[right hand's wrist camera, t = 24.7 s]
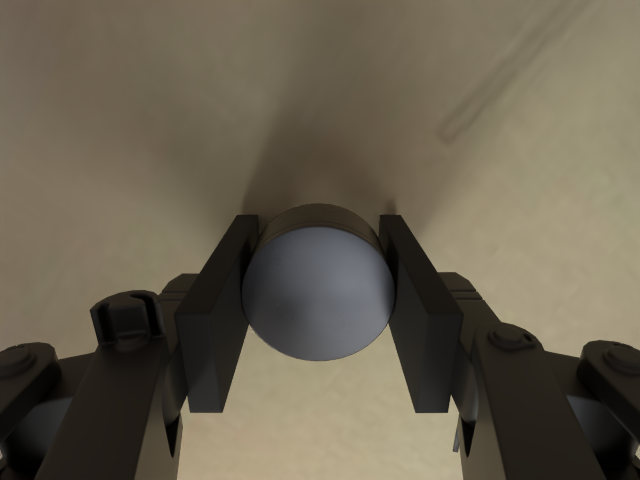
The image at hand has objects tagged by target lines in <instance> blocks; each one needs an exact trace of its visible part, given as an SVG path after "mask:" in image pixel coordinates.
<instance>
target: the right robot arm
mask: <svg viewBox="0 0 640 480" xmlns="http://www.w3.org/2000/svg"><path fill="white" fill-rule="evenodd" d="M258 238H259V226H258V215H237V216H236V218H235V219H234V221H233V222H232V224H231V225H230V227H229V229H228V230H227V232H226V233H225V235H224V236H223V238H222V239H221V241H220V242H219V244H218V246H217V247H216V249H215V250H214V252H213V253H212V255H211V256H210V258H209V259H208V261H207V263H206V264H205V266H204V267H203V269H202V270H201V272H200V273H199V274H181V275H179V276H178V277H176V278H174V279H173V280H171V281H170V282H169V283H168V284H167V285H166V287H165V288H164V289H163V290H162V293H160V294H159V296H158V295H157V294H156V293H154V292H151V291H146V290H132V291H127V292H121V293H118V294H115V295H112V296H109V297H106V298H105V299H103V300H101V301H100V302H98V303H96V304H95V305H94V306H93V307H92V308H91V309H90V313H91V317H92V321H93V325H94V328H95V332H96V336H97V340H98V344H99V345H98V347H97V349H96V351H95V352H93V353H89V354H85V355H80V356H75V357H70V358H64V359H59V360H58V358H57V355H56V352H55V349H54V347H52V346H51V345H50V344H47V343H40V342H35V343H25V344H20V345H17V346H12V347H9V348H7V349H5V350H3V351H1V352H0V451H1V453H2V455H3V457H2V458H1V459H0V480H177V473H178V464H179V456H180V447H181V438H182V430H183V425H182V418H181V413H180V410H181V408H182V406H183V403H184V401H185V399H186V396H187V397H188V402H189V408H190V413H222V412H223V409H224V406H225V402H226V399H227V396H228V392H229V389H230V386H231V382H232V379H233V376H234V372H235V369H236V366H237V362H238V359H239V356H240V352H241V349H242V346H243V342H244V339H245V336H246V332H247V329H248V326H249V323H248V321H247V319H246V316H245V314H244V311H243V307H242V302H241V284H242V279H243V275H244V272H245V270H246V267H247V265H248V262H249V260H250V257H251V255H252V252H253V250H254V247H255V245H256V242H257V240H258ZM378 238H379V240H380V243H381V245H382V248H383V250H384V253H385V255H386V258H387V260H388V263H389V266H390V268H391V271H392V273H393V276H394V281H395V287H396V300H395V305H394V310H393V313H392V315H391V318H390V320H389V322H388V323H389V326H390V330H391V333H392V336H393V340H394V343H395V346H396V350H397V353H398V356H399V360H400V363H401V366H402V369H403V373H404V376H405V379H406V383H407V386H408V389H409V393H410V396H411V399H412V403H413V406H414V409H415V413H448V408H449V402H450V396H451V395H452V397H453V399H454V402H455V404H456V406H457V409H458V411H459V418H458V424H457V429H456V435H455V440H454V446H453V452H458V449H459V446H460V455H461V463H462V472H463V480H640V460H639V458H638V457H637V456H636V455H635V453H636V451H637V449H638V446H639V444H640V351H639V350H637V349H635V348H633V347H632V346H629V345H626V344H623V343H622V344H621V343H619V342H614V341H603V340H597V341H591V342H588V343H587V344H586V345H584V346H583V350H582V353H581V356H580V358H578V357H573V356H568V355H563V354H557V353H552V352H548V351H545V350H544V348H543V346H542V344H541V343H540V342H539V340H538V339H537V338H536V337H535V336H534V335H533V334H531V333H530V332H528V331H527V330H525V329H523V328H520V327H518V326H515V325H512V324H508V323H503V322H501V321H500V320H499V319H498V317H497V316H496V315H495V314H494V312H493V311H492V310H491V308H490V307H489V306H488V305H487V303H486V302H485V301H484V300H482V297H481V296H480V294H479V293H478V292H476V289H475V288H474V287H473V285H472V284H471V283H470V282H469V280H467V279H465V278H464V277H462V276H461V275H459V274H457V273H456V272H437V271H436V269H435V268H434V266H433V265H432V263H431V262H430V260H429V259H428V257H427V255H426V254H425V252H424V251H423V249H422V248H421V246H420V245H419V243H418V242H417V240H416V238H415V237H414V235H413V234H412V232H411V231H410V229H409V228H408V226H407V225H406V223H405V221H404V220H403V218H402V217H401V215H380V220H379V236H378Z"/></svg>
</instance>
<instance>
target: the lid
mask: <svg viewBox="0 0 640 480" xmlns="http://www.w3.org/2000/svg"><path fill="white" fill-rule="evenodd" d="M395 300H396V287H395V281H394V276H393V273H392V271H391V268H390V266H389V263H388V260H387V258H386V255H385V253H384V250H383V248H382V245H381V243H380V240H379V238H378V237H377V235H376V233H375V232H374V230H373V229H372V228H371V227H370V225H369V224H368V223H367V222H366V221H365V220H363V219H362V218H361V217H359V216H358V215H357V214H355V213H353V212H351V211H349V210H347V209H344V208H342V207H339V206H335V205H330V204H307V205H302V206H298V207H295V208H292V209H290V210H288V211H285V212H284V213H282V214H280V215H279V216H277V217H276V218H275V219H274V220H272V221H271V222H270V223H269V224H268V225H267V226H266V227H265V229H264V230H263V231H262V233H261V234H260V236H259V238H258V240H257V242H256V245H255V247H254V250H253V252H252V255H251V257H250V260H249V262H248V265H247V267H246V270H245V272H244V275H243V279H242V284H241V302H242V307H243V311H244V314H245V316H246V319H247V321H248V323H249V324H250V326H251V328H252V329H253V330H254V332H255V333H256V334H257V335H258V336H259V337H260V338H261V339H262V340H263V341H264V342H265V343H266V344H268V345H269V346H270V347H272V348H273V349H275V350H277V351H279V352H281V353H283V354H285V355H287V356H290V357H294V358H297V359H302V360H309V361H328V360H335V359H339V358H343V357H346V356H349V355H352V354H354V353H356V352H358V351H360V350H362V349H363V348H365V347H366V346H368V345H369V344H370V343H372V342H373V341H374V340H375V339H376V338H377V337H378V336H379V335H380V334H381V333H382V331H383V330H384V328H385V327H386V326H387V324H388V322H389V320H390V318H391V315H392V313H393V310H394V305H395Z"/></svg>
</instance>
